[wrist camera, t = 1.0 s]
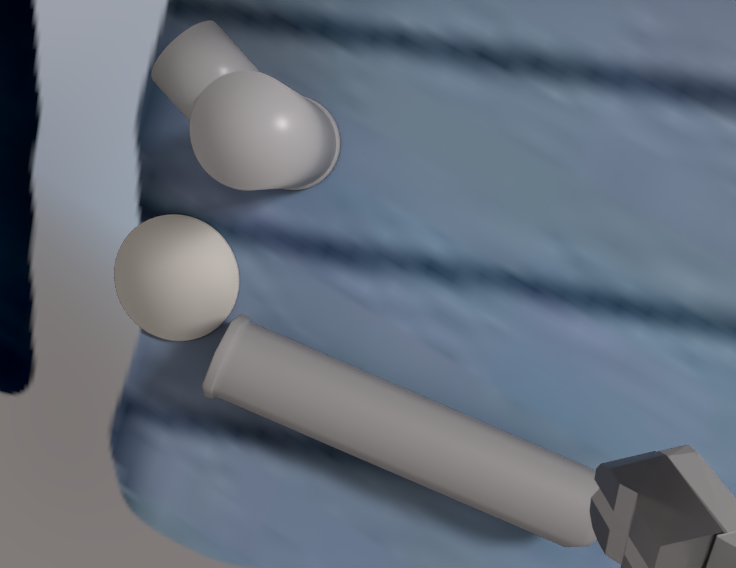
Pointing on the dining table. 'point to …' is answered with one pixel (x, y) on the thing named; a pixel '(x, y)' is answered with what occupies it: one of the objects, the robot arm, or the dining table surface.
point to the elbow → (245, 115)
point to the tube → (403, 433)
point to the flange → (176, 277)
